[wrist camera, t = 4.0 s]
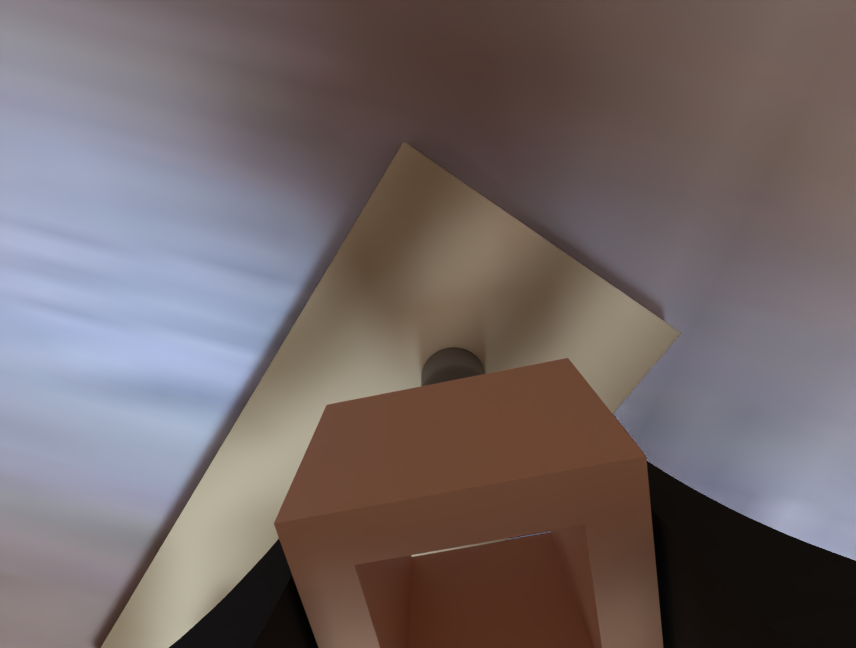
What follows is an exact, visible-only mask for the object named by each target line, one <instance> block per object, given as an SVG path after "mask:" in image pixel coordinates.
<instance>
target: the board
mask: <svg viewBox="0 0 856 648" xmlns="http://www.w3.org/2000/svg"><path fill="white" fill-rule="evenodd" d="M680 334H681V333H680V332H679V331H678V330H676V329H675V328H673V327H672V326H670V325H669V324H667V323H666V322H665V321H663V320H662V319H660V318H659V317H657V316H656V315H654V314H653V313H652V312H650V311H649V310H647V309H646V308H644V307H643V306H641V305H640V304H638V303H637V302H636V301H634V300H633V299H631V298H630V297H628V296H627V295H625V294H624V293H623V292H621V291H620V290H618V289H617V288H615V287H614V286H612V285H611V284H610V283H608V282H607V281H605V280H604V279H602V278H601V277H599V276H598V275H596V274H595V273H594V272H592V271H591V270H589V269H588V268H586V267H585V266H583V265H582V264H581V263H579V262H578V261H576V260H575V259H573V258H572V257H570V256H569V255H568V254H566V253H565V252H563V251H562V250H560V249H559V248H557V247H556V246H554V245H553V244H552V243H550V242H549V241H547V240H546V239H544V238H543V237H541V236H540V235H539V234H537V233H536V232H534V231H533V230H531V229H530V228H528V227H527V226H526V225H524V224H523V223H521V222H520V221H518V220H517V219H515V218H514V217H512V216H511V215H510V214H508V213H507V212H505V211H504V210H502V209H501V208H499V207H498V206H497V205H495V204H494V203H492V202H491V201H489V200H488V199H486V198H485V197H484V196H482V195H481V194H479V193H478V192H476V191H475V190H473V189H472V188H471V187H469V186H468V185H466V184H465V183H463V182H462V181H460V180H459V179H457V178H456V177H455V176H453V175H452V174H450V173H449V172H447V171H446V170H444V169H443V168H442V167H440V166H439V165H437V164H436V163H434V162H433V161H431V160H430V159H429V158H427V157H426V156H424V155H423V154H421V153H420V152H418V151H417V150H415V149H414V148H413V147H411V146H410V145H408V144H407V143H405V142H403V143H402V145H401V147H400V148H399V150H398V152H397V153H396V155H395V157H394V158H393V160H392V162H391V163H390V165H389V167H388V168H387V170H386V172H385V173H384V175H383V177H382V178H381V180H380V182H379V183H378V185H377V187H376V188H375V190H374V192H373V193H372V195H371V197H370V198H369V200H368V202H367V203H366V205H365V207H364V209H363V210H362V212H361V214H360V215H359V217H358V219H357V220H356V222H355V224H354V225H353V227H352V229H351V230H350V232H349V234H348V235H347V237H346V239H345V240H344V242H343V244H342V245H341V247H340V249H339V250H338V252H337V254H336V255H335V257H334V259H333V260H332V262H331V264H330V265H329V267H328V269H327V270H326V272H325V274H324V275H323V277H322V279H321V280H320V282H319V284H318V285H317V287H316V289H315V290H314V292H313V294H312V295H311V297H310V299H309V300H308V302H307V304H306V305H305V307H304V309H303V310H302V312H301V314H300V315H299V317H298V319H297V320H296V322H295V324H294V325H293V327H292V329H291V331H290V332H289V334H288V336H287V337H286V339H285V341H284V342H283V344H282V346H281V347H280V349H279V351H278V352H277V354H276V356H275V357H274V359H273V361H272V362H271V364H270V366H269V367H268V369H267V371H266V372H265V374H264V376H263V377H262V379H261V381H260V382H259V384H258V386H257V387H256V389H255V391H254V392H253V394H252V396H251V397H250V399H249V401H248V402H247V404H246V406H245V407H244V409H243V411H242V412H241V414H240V416H239V417H238V419H237V421H236V422H235V424H234V426H233V427H232V429H231V431H230V432H229V434H228V436H227V437H226V439H225V441H224V442H223V444H222V446H221V447H220V449H219V451H218V453H217V454H216V456H215V458H214V459H213V461H212V463H211V464H210V466H209V468H208V469H207V471H206V473H205V474H204V476H203V478H202V479H201V481H200V483H199V484H198V486H197V488H196V489H195V491H194V493H193V494H192V496H191V498H190V499H189V501H188V503H187V504H186V506H185V508H184V509H183V511H182V513H181V514H180V516H179V518H178V519H177V521H176V523H175V524H174V526H173V528H172V529H171V531H170V533H169V534H168V536H167V538H166V539H165V541H164V543H163V544H162V546H161V548H160V549H159V551H158V553H157V554H156V556H155V558H154V559H153V561H152V563H151V564H150V566H149V568H148V569H147V571H146V573H145V575H144V576H143V578H142V580H141V581H140V583H139V585H138V586H137V588H136V590H135V591H134V593H133V595H132V596H131V598H130V600H129V601H128V603H127V605H126V606H125V608H124V610H123V611H122V613H121V615H120V616H119V618H118V620H117V621H116V623H115V625H114V626H113V628H112V630H111V631H110V633H109V635H108V636H107V638H106V640H105V641H104V643H103V645H102V646H101V648H169V647H170V646H171V645H173V644H174V643H175V642H176V641H177V640H179V639H180V638H181V637H182V636H183V635H184V634H186V633H187V632H188V631H189V630H190V629H191V628H192V627H193V626H194V625H196V624H197V623H198V622H199V621H200V620H201V619H202V618H203V617H204V616H205V615H207V614H208V613H209V612H210V611H211V610H212V609H213V608H214V607H215V606H216V605H217V604H218V603H219V602H220V601H221V600H222V599H223V598H224V597H225V596H226V595H227V594H228V593H229V592H230V591H231V590H232V589H233V588H234V587H235V586H236V585H237V584H238V583H239V582H240V581H241V580H242V579H243V577H244V576H245V575H246V574H247V573H248V572H249V571H250V570H251V569H252V568H253V567H254V566H255V565H256V564H257V563H258V561H259V560H260V559H261V558H262V557H263V556H264V555H265V554H266V553H267V552H268V550H269V549H270V548H271V547H272V546H273V545H274V543H275V542H276V541H277V540H278V539H279V537H278V534H277V531H276V529H275V526H274V522H275V520H276V517H277V515H278V513H279V511H280V508H281V506H282V504H283V502H284V499H285V497H286V495H287V493H288V490H289V488H290V486H291V484H292V481H293V479H294V477H295V475H296V472H297V470H298V468H299V466H300V463H301V461H302V459H303V457H304V454H305V452H306V450H307V448H308V445H309V443H310V441H311V439H312V436H313V434H314V432H315V430H316V427H317V425H318V423H319V421H320V418H321V416H322V414H323V412H324V409H325V407H326V405H328V404H333V403H338V402H343V401H348V400H354V399H359V398H364V397H369V396H374V395H379V394H384V393H390V392H395V391H400V390H405V389H410V388H415V387H420V386H426V385H431V384H436V383H441V382H446V381H451V380H456V379H462V378H467V377H472V376H477V375H482V374H487V373H493V372H498V371H503V370H508V369H513V368H518V367H523V366H529V365H534V364H539V363H544V362H549V361H554V360H559V359H565V358H569V360H570V361H571V362H572V363H573V365H574V366H575V367H576V368H577V370H578V371H579V372H580V373H581V375H582V376H583V377H584V378H585V380H586V381H587V382H588V384H589V385H590V386H591V387H592V389H593V390H594V391H595V392H596V394H597V395H598V396H599V397H600V399H601V400H602V401H603V402H604V404H605V405H606V406H607V407H608V409H609V410H610V411H611V412H612V414H613V413H614V412H615V411H616V409H617V408H618V407H619V406H620V405H621V404H622V402H623V401H624V400H625V399H626V398H627V396H628V395H629V394H630V393H631V392H632V391H633V389H634V388H635V387H636V386H637V385H638V383H639V382H640V381H641V380H642V379H643V377H644V376H645V375H646V374H647V373H648V372H649V370H650V369H651V368H652V367H653V366H654V364H655V363H656V362H657V361H658V360H659V359H660V357H661V356H662V355H663V354H664V353H665V351H666V350H667V349H668V348H669V347H670V346H671V344H672V343H673V342H674V341H675V340H676V338H677V337H678V336H679V335H680ZM506 540H507V539H501V540H496V541H490V542H484V543H478V544H473V545H467V546H461V547H455V548H450V549H444V550H438V551H432V552H427V553H421V554H415V555H411V556H412V557H414V556H420V555H426V554H431V553H437V552H443V551H449V550H454V549H460V548H466V547H472V546H477V545H483V544H489V543H495V542H500V541H506Z"/></svg>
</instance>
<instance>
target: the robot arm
mask: <svg viewBox="0 0 856 648" xmlns="http://www.w3.org/2000/svg"><path fill="white" fill-rule="evenodd" d="M647 471H648V482H649V493H650V504H651V515H652V526H653V538H654V549H655V560H656V571H657V582H658V593H659V604H660V615H661V627H662V638H663V648H856V561H855V560H852V559H849V558H846V557H844V556H841V555H838V554H836V553H833V552H830V551H827V550H825V549H822V548H819V547H817V546H814V545H811V544H809V543H806V542H804V541H801V540H799V539H796V538H794V537H791V536H789V535H786V534H784V533H782V532H779V531H777V530H775V529H773V528H770V527H768V526H766V525H764V524H762V523H759V522H757V521H755V520H753V519H750V518H748V517H746V516H744V515H742V514H740V513H738V512H736V511H734V510H732V509H730V508H728V507H726V506H724V505H722V504H720V503H718V502H716V501H714V500H713V499H711V498H709V497H707V496H705V495H703V494H701V493H699V492H698V491H696V490H694V489H692V488H691V487H689V486H687V485H685V484H684V483H682V482H680V481H678V480H677V479H675V478H673V477H672V476H670V475H668V474H667V473H665V472H663V471H662V470H660V469H659V468H657V467H655V466H654V465H652V464H651V463H649V462H648V461H647ZM169 648H318V645H317V642H316V639H315V637H314V634H313V631H312V628H311V626H310V623H309V620H308V617H307V615H306V612H305V609H304V606H303V603H302V601H301V598H300V595H299V592H298V590H297V587H296V584H295V581H294V578H293V576H292V573H291V570H290V567H289V565H288V562H287V559H286V556H285V554H284V551H283V548H282V545H281V542H280V540H279V539H278V540H277V541H276V542H275V543H274V545H273V546H272V547H271V548H270V549H269V550H268V552H267V553H266V554H265V555H264V556H263V557H262V558H261V559H260V560H259V561H258V563H257V564H256V565H255V566H254V567H253V568H252V569H251V570H250V571H249V572H248V573H247V574H246V575H245V576H244V577H243V579H242V580H241V581H240V582H239V583H238V584H237V585H236V586H235V587H234V588H233V589H232V590H231V591H230V592H229V593H228V594H227V595H226V596H225V597H224V598H223V599H222V600H221V601H220V602H219V603H218V604H217V605H216V606H215V607H214V608H213V609H212V610H211V611H210V612H209V613H208V614H207V615H205V616H204V617H203V618H202V619H201V620H200V621H199V622H198V623H197V624H196V625H194V626H193V627H192V628H191V629H190V630H189V631H188V632H187V633H186V634H184V635H183V636H182V637H181V638H180V639H179V640H177V641H176V642H175V643H174V644H173V645H171V646H170V647H169Z"/></svg>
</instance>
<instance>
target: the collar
mask: <svg viewBox="0 0 856 648" xmlns="http://www.w3.org/2000/svg"><path fill="white" fill-rule="evenodd" d="M274 526H275V529H276V531H277V534H278V537H279V540H280V542H281V545H282V548H283V551H284V554H285V556H286V559H287V562H288V565H289V567H290V570H291V573H292V576H293V578H294V581H295V584H296V587H297V590H298V592H299V595H300V598H301V601H302V603H303V606H304V609H305V612H306V615H307V617H308V620H309V623H310V626H311V628H312V631H313V634H314V637H315V639H316V642H317V645H318V648H663V638H662V627H661V615H660V604H659V593H658V582H657V571H656V560H655V549H654V538H653V526H652V515H651V504H650V493H649V482H648V471H647V460H646V455H645V454H644V453H643V452H642V450H641V449H640V448H639V446H638V445H637V444H636V443H635V441H634V440H633V439H632V438H631V436H630V435H629V434H628V433H627V431H626V430H625V429H624V428H623V426H622V425H621V424H620V423H619V421H618V420H617V419H616V418H615V416H614V415H613V414H612V412H611V411H610V410H609V409H608V407H607V406H606V405H605V404H604V402H603V401H602V400H601V399H600V397H599V396H598V395H597V394H596V392H595V391H594V390H593V389H592V387H591V386H590V385H589V384H588V382H587V381H586V380H585V378H584V377H583V376H582V375H581V373H580V372H579V371H578V370H577V368H576V367H575V366H574V365H573V363H572V362H571V361H570V360H569V358H565V359H559V360H554V361H549V362H544V363H539V364H534V365H529V366H523V367H518V368H513V369H508V370H503V371H498V372H493V373H487V374H482V375H477V376H472V377H467V378H462V379H456V380H451V381H446V382H441V383H436V384H431V385H426V386H420V387H415V388H410V389H405V390H400V391H395V392H390V393H384V394H379V395H374V396H369V397H364V398H359V399H354V400H348V401H343V402H338V403H333V404H328V405H326V407H325V409H324V412H323V414H322V416H321V418H320V421H319V423H318V425H317V427H316V430H315V432H314V434H313V436H312V439H311V441H310V443H309V445H308V448H307V450H306V452H305V454H304V457H303V459H302V461H301V463H300V466H299V468H298V470H297V472H296V475H295V477H294V479H293V481H292V484H291V486H290V488H289V490H288V493H287V495H286V497H285V499H284V502H283V504H282V506H281V508H280V511H279V513H278V515H277V517H276V520H275V522H274ZM547 531H551V533H546V534H541V535H535V536H529V537H523V538H518V539H512V540H506V541H500V542H495V543H489V544H483V545H477V546H472V547H466V548H460V549H454V550H449V551H443V552H437V553H431V554H426V555H420V556H414V557H412V556H411V555H415V554H421V553H427V552H432V551H438V550H444V549H450V548H455V547H461V546H467V545H473V544H478V543H484V542H490V541H496V540H501V539H507V538H513V537H519V536H524V535H530V534H536V533H542V532H547Z"/></svg>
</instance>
